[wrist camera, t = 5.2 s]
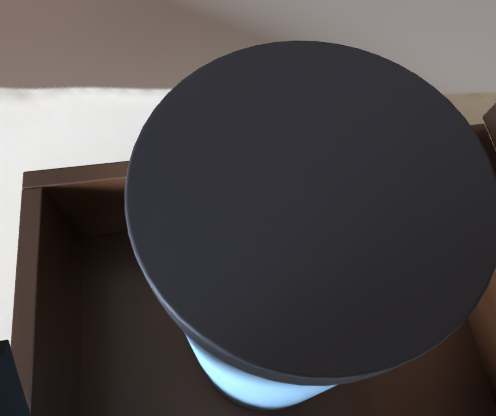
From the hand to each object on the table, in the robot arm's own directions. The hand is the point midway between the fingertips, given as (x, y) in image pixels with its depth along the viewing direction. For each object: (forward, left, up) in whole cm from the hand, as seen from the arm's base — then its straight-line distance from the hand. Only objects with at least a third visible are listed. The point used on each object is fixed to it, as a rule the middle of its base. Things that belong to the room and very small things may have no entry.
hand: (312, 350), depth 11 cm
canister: (-1, +2, -11) cm, 11 cm away
